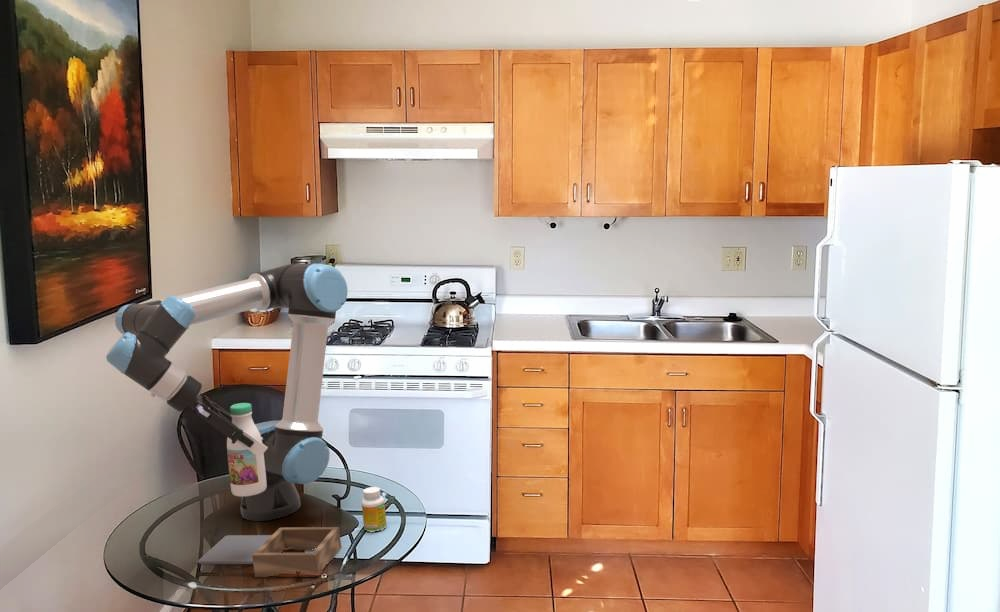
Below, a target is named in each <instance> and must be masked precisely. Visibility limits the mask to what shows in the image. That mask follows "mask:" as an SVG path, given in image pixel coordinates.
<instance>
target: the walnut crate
mask: <svg viewBox="0 0 1000 612" xmlns="http://www.w3.org/2000/svg"><path fill="white" fill-rule="evenodd" d="M340 532H341V531H340V527H339V526H337V527H336V526H328V527H327V526H326V527H325V526H322V527H321V526H319V527H318V526H317V527H315V526H310V527H309V526H307V527H306V526H305V527H303V526H301V527H298V526H297V527H279V528H278V529H277V530H276V531H275V532H274V533H273V534H271V535H272V536H271V537H270V538H269V539H268V540H267V541H266V542H265V543H264V544H263V545H262V546H261V547H260V548H259V549H258V550H257V551H256V552H255V553H254V554H253V555H252V557H253V564H252V565H253V572H254V578H269V577H268V576H274V575H278V574H281V573H289V572H296V571H297V572H299V571H301V572H305V573H319V572H320V570H321V569H323V568H324V567H325V565H326V564H328V563H329V561H331V560H332V561H333V559H334V558H335V556H336V555H337V554H338V553H339V551H340V550H341V549H342V540H341V533H340ZM288 547H293V548H296V549H299V550H298V551H313V552H283V553H281V552H282V550H283V549H284V548H288ZM315 548H316V549H315ZM312 549H315V550H312ZM332 561H331V562H332ZM329 564H330V563H329ZM329 564H328V565H329Z"/></svg>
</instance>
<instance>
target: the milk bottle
mask: <svg viewBox="0 0 1000 612" xmlns="http://www.w3.org/2000/svg"><path fill="white" fill-rule="evenodd" d="M229 413H230V414H231V417H232V423H233V424H234V425H236V426H237V427H238V428H239V429H241V430H243V431H245V432H247V433H248V434H250V435H251V436H252V437H254V438H255V439H257V440H258V441H259V442H261V443H262V439H261V435H260V433H259V431H258V429H257V427H256V426H255V424H256V423H255V422H254V419H253V418H252V417H253V416H252V414H253V406H252V403H249V402H240V403H234V404H232V405H231V406H230V407H229ZM234 433H235V432H234ZM231 442H232V440H231V439H230V438H229V437H227V438H226V451H227V463H228V474H229V481H230V491H231V493H232V495H233V496H235V497H241V498H242V497H243V496H252V495H256V494H259V493H261V492H263V491H265V490H266V487H267V482H266V472H265V462H264V453H263V455H262V456H261V457H260V458H259V457H258V456H256V455H255V454H254V453H252V452H251V451H249V450H248V449H246V448H245V447H244V446H242V445H241V444H239V443H238V442H235V444H233V443H231Z"/></svg>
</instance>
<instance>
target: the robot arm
mask: <svg viewBox="0 0 1000 612" xmlns="http://www.w3.org/2000/svg"><path fill="white" fill-rule="evenodd" d="M347 298H348V285H347V281H346V279H345V277H344V275H343V274H342V272H341V271H340V270H339V269H338V268H336V267H334V266H332V265H330V264H324V263H316V262H315V263H290V264H289V263H287V264H284V265H281V266H277V267H273V268H270V269H266V270H263V271H260V272H255V273H251V275H249V276H248V279H247V278H246V279H244V280H238V281H235V282H230V283H226V284H222V285H218V286H213V287H209V288H205V289H204V288H203V289H199V290H196V291H190V292H187V293H182V294H178V295H168V296H167V297H166V298H165V297H164V298H161V299H157V300H153V301H147V302H144V303H130V304H126V305H123V306H121V307H120V308H119V309H118V310H117V313H116V314H115V316H114V317H115V319H114V322H115V326H116V329H117V330H118V332H119V333H121V334H122V335H121V336H120V337H119V339H118V340H117V341H116V342H115V343H114V344H113V346H111V348H110V349H109V350H108V352H107V354H106V356H105V357H106V361H107V362H108V363H109V364H110V365H111V366H112V367H114V368H115V369H117V370H118V371H119V372H120V373H121V374H123V375H125V376H126V377H128V378H129V379H131V380H132V381H133V382H135V383H136V384H138V385H139V386H141V387H143V388H144V389H146V390H147V391H148V392H150V396H151V398H154V397H155V396H157V398H159V399H160V400H162V401H166V404H167V406H170V407H171V408H173V409H174V410H175V411H177V412H179V413H180V412H183V411H185V410H186V409H187V408H188V407H190V408H191V409H192V412H193V414H194V415H195V416H196V417H199V418H201V419H202V420H203V421H205V422H206V423H208V424H209V425H211V426H212V427H213V428H215V429H216V430H218V431H219V432H220V433H221V434H223V435H225V436H226V437H227V438H228V437H229V438H230V439H231V440H232V442H231V443H233V444H235V442H238V443H239V444H241V445H242V446H244V447H245V448H246V449H248V450H249V451H251V452H252V453H254V454H255V455H256V456H258V457H259V458H260V457H261V456H262V455H263V453H264V462H265V472H266V482H267V487H266V490H265V491H263V492H261V493H259V494H256V495H252V496H243V497H242V496H241V500H240V501H241V502H240V507H239V508H240V516H241V515H242V516H241V518H243V519H244V518H245V520H246V519H247V521H251V520H252V522H264V521H266V520H267V521H271V520H272V519H273V520H275V519H274V518H278V519H281V518H280V517H282V518H285V517H287V516H290V515H292V514H293V513H295V512H297V511H298V510H299V509H300V508H301V505H302V502H301V497H300V495H299V492H298V490H297V487H296V485H295V484H299V485H307V484H311V483H313V482H315V481H316V480H318V479H319V477H320V476H322V475H323V474H324V472H325V471H326V469H327V467H328V464H329V461H330V455H331V454H330V448H329V447H328V445H327V443H326V442H325V441H324V440H323V434H324V428H323V426H322V425H321V424H320V423H319V411H320V403H321V395H322V385H323V379H324V369H325V368H324V367H325V358H326V349H327V340H328V333H329V326H330V325H331V324H332V323H334V322H335V320H336V315H337V312H338V311H339V310H340V309H341V308H342V306H343V305H345V303H346V301H347ZM254 309H256V310H258V311H262V312H263V311H267V310H271V309H288V310H287V311H288V312H287V316H288V318H289V319H290V320H291V321H292V331H291V341H290V349H289V350H290V351H289V358H288V366H287V374H286V384H285V391H284V401H283V409H282V410H283V411H282V418H281V420H269V421H263V422H259V423H254V424H255V426H256V427H257V429H258V431H259V433H260V435H261V439H262V443H261V442H259V441H258V440H257V439H255V438H254V437H252V436H251V435H250V434H248V433H247V432H245V431H243V430H241V429H239V428H238V427H237V426H236V425H234V424H233V423H232V417H231V413H230V412H229V411H227V410H225V409H224V408H222V407H221V406H219V404H217V403H216V402H214V401H212V400H211V399H210V398H209V397H208V396H207V395H205V394H203V393H200V391H201V390H202V388H203V387H202V386H203V385H202V383H201V382H200V381H198V380H197V379H196V378H194V377H193V376H192V375H187V372H186V371H185V370H184V369H182V368H181V367H179V366H178V365H176V364H175V363H174V362H172V361H171V360H169V359H168V358H166V356H167V355H168V353H169V352H170V350H172V348H173V347H174V346H175V345H176V343H177V342H178V341H179V340H180V338H181V337H182V336H183V334H185V332H186V331H187V330H188V329H189V328H190V326H192V325H193V326H194V325H196V324H200V323H203V322H208V321H212V320H215V319H220V318H223V317H228V316H231V315H235V314H238V313H239V314H240V313H243V312H246V311H250V310H254ZM199 393H200V394H199ZM234 432H235V433H234ZM289 514H290V515H289ZM284 516H285V517H284ZM267 521H266V522H267Z"/></svg>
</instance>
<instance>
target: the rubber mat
mask: <svg viewBox="0 0 1000 612" xmlns="http://www.w3.org/2000/svg"><path fill="white" fill-rule="evenodd" d="M272 535H273V534H262V535H261V534H257V535H256V534H255V535H254V534H251V535H250V534H248V535H247V534H246V535H245V534H242V535H241V534H240V535H239V534H238V535H236V534H235V535H233V534H231V535H230V534H228V535H225V536H224V537H223V538H222V539H221V538H220V540H219V541H218V542H216V544H215V545H214V546H213V547H211V548H210V550H208V551H207V552H206V553H205V554H203V556H201V557H200V558H199V559H198V560H196V564H197V563H199V564H198V565H253V557H252V555H253V554H254V553H255V552H256V551H257V550H258V549H259V548H260V547H261V546H262V545H263V544H264V543H265V542H266V541H267V540H268V539H269V538H270V537H271V536H272Z"/></svg>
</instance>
